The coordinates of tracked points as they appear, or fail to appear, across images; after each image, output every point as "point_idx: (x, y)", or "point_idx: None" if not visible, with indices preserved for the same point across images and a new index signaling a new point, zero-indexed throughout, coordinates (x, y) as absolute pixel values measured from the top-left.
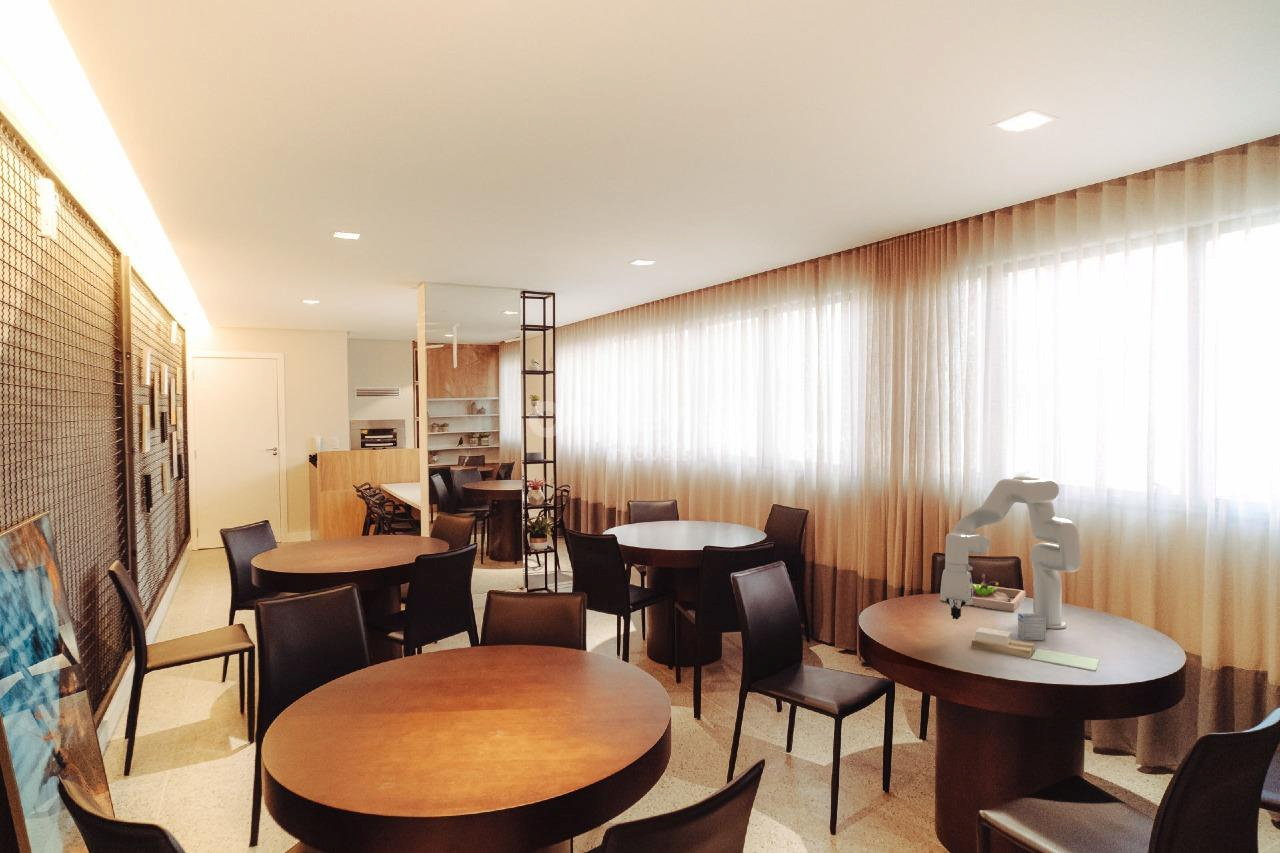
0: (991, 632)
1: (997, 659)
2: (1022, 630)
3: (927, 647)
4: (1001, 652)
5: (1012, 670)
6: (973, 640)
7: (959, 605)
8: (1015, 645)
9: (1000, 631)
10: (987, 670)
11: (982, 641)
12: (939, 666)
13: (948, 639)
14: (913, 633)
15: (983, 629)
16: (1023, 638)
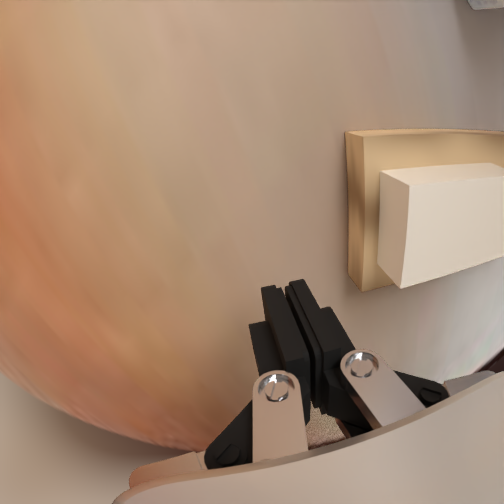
0: (462, 245)
1: (432, 319)
2: (498, 1)
3: (205, 387)
4: None
5: (453, 357)
6: (368, 282)
7: (366, 426)
8: None
9: (492, 194)
10: None
11: None
12: None
13: (212, 237)
14: (48, 276)
15: (430, 222)
16: (477, 9)
